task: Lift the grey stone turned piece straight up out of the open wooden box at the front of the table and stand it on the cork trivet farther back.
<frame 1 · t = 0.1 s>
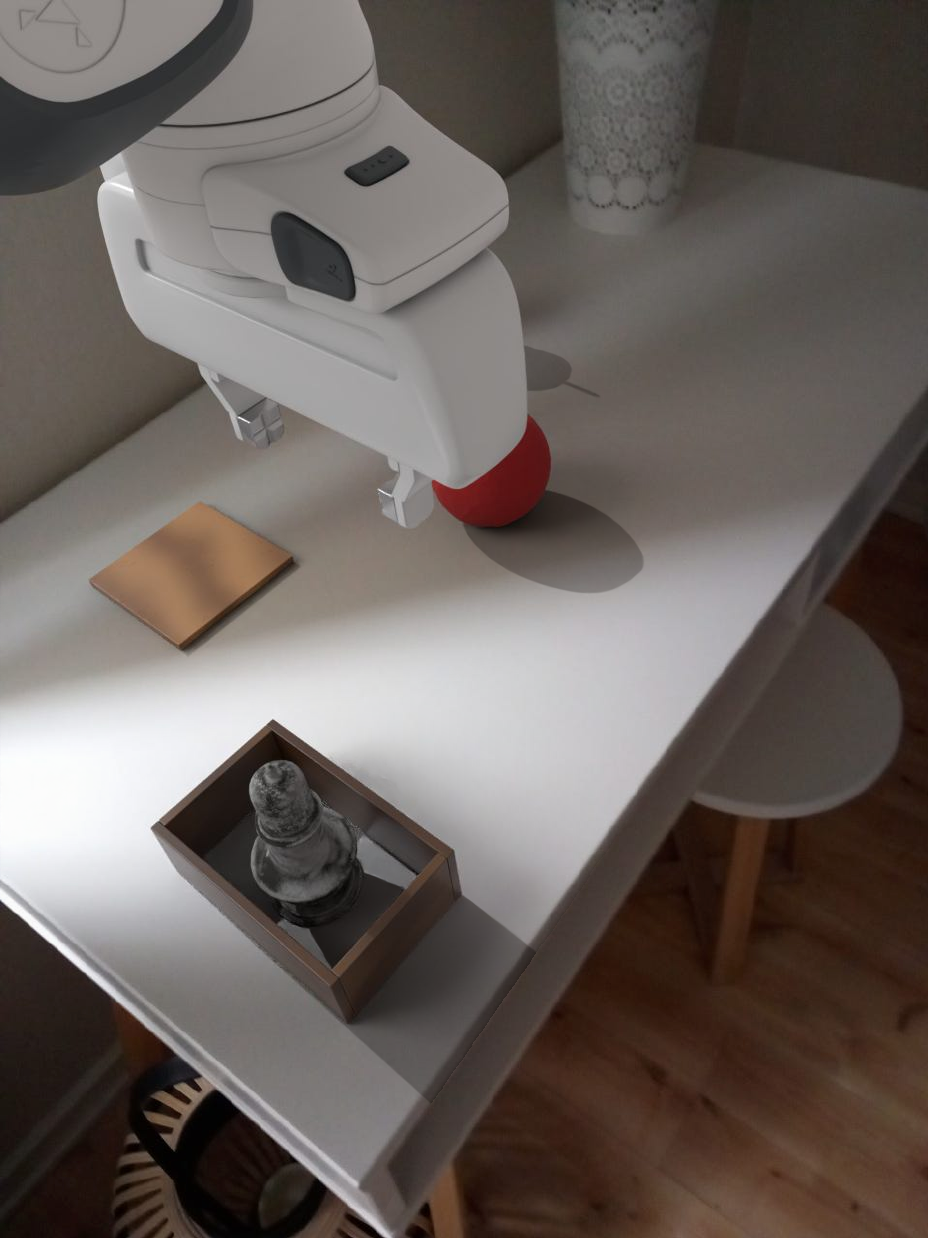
hand: (332, 475, 44), 23 cm above the table, tool pointing down, fingers open, 8 cm apart
apple: (492, 508, 76), on the table
trivet: (192, 573, 74), on the table
open wooden box: (316, 882, 56), on the table
grey stone turned piece: (316, 884, 56), resting in open wooden box
beverage cup: (441, 333, 94), on the table
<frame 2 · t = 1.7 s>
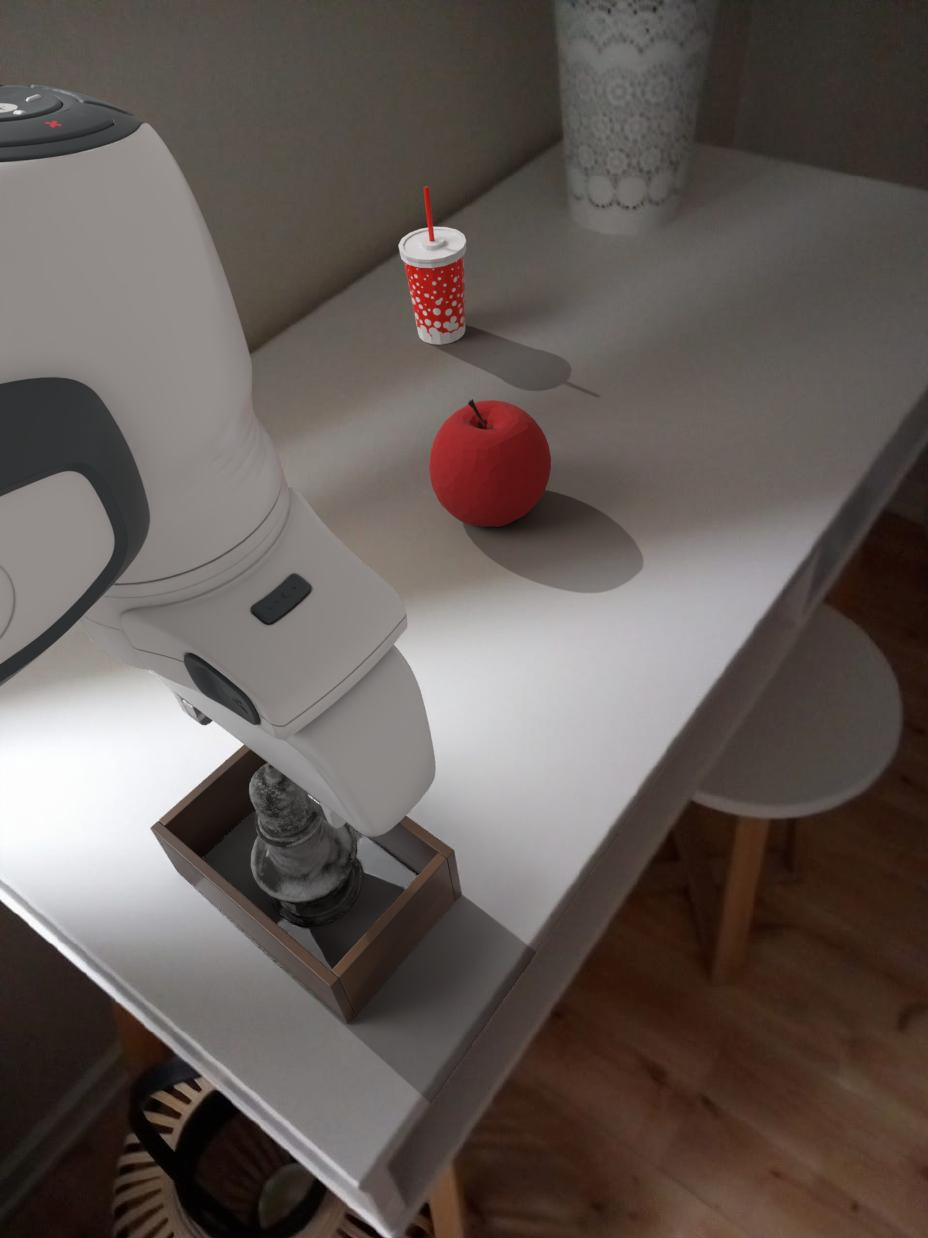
hand: (270, 758, 47), 12 cm above the table, tool pointing down, fingers open, 8 cm apart
nothing on the table moved.
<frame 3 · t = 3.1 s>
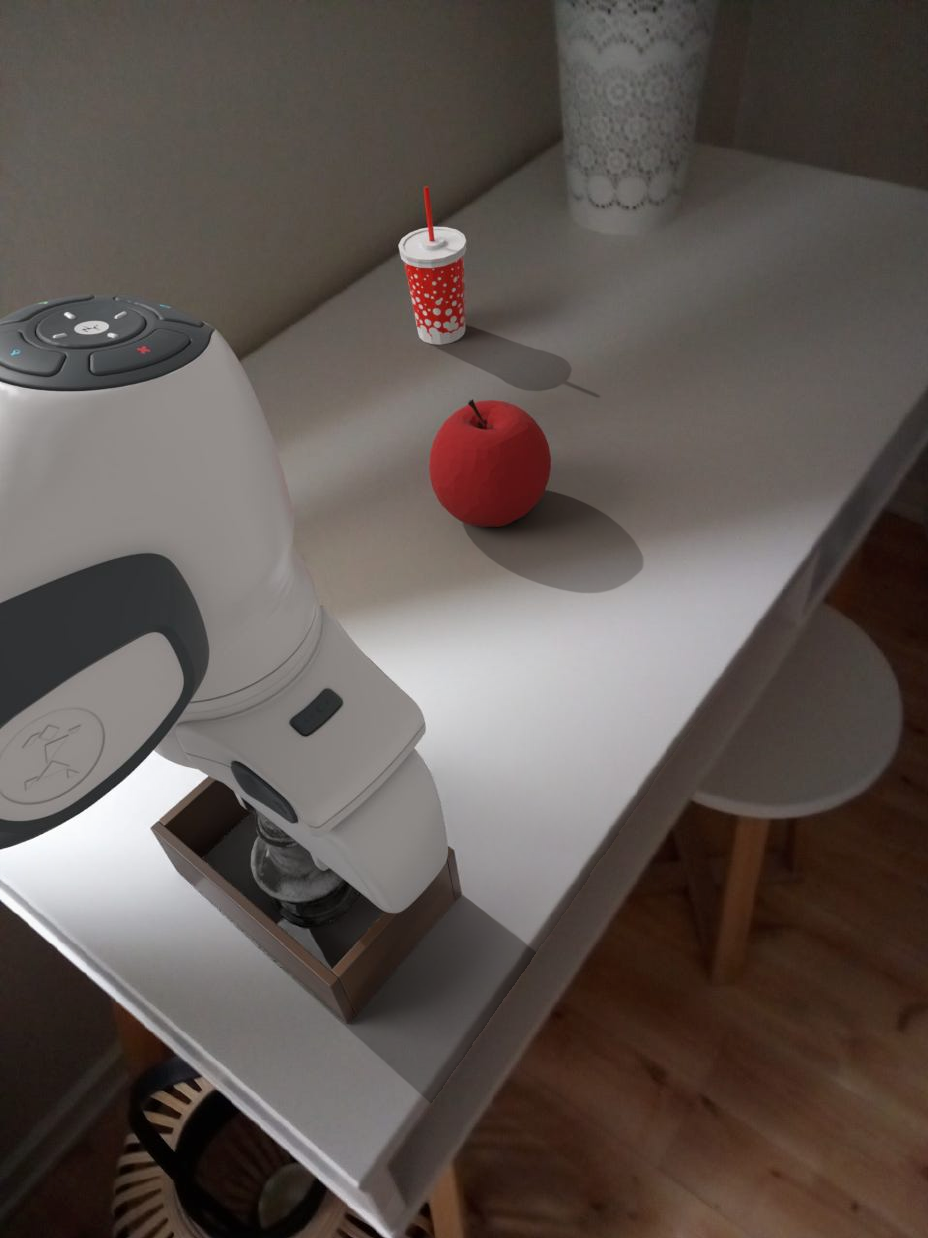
hand: (294, 828, 51), 6 cm above the table, tool pointing down, fingers closed on grey stone turned piece, 3 cm apart
grey stone turned piece: (317, 884, 56), resting in open wooden box, touching gripper
everything else where it was.
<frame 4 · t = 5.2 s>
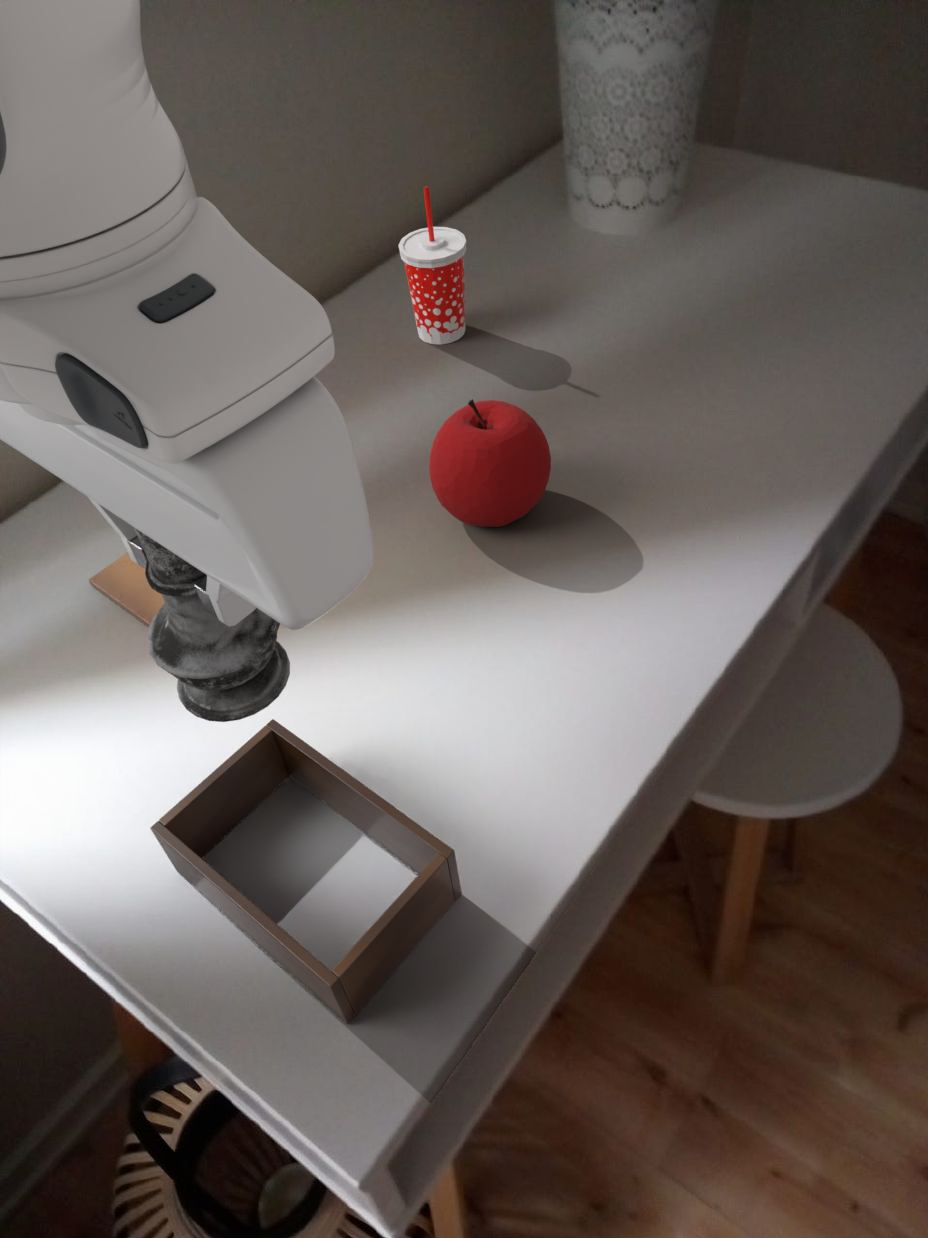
hand: (196, 585, 41), 22 cm above the table, tool pointing down, fingers closed on grey stone turned piece, 3 cm apart
grey stone turned piece: (235, 678, 45), point 16 cm above the table, touching gripper
everything else where it was.
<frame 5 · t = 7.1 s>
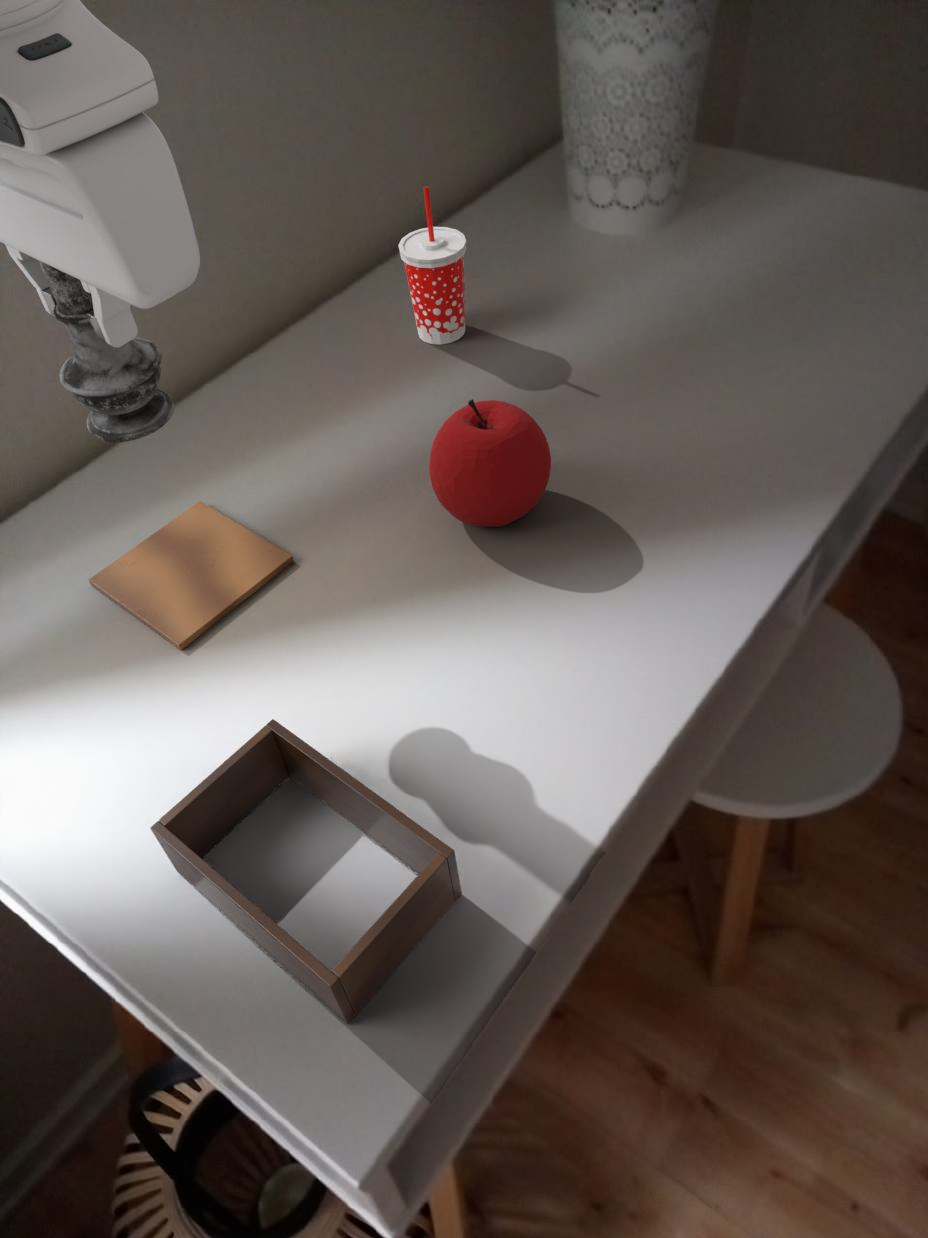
hand: (93, 326, 54), 23 cm above the table, tool pointing down, fingers closed on grey stone turned piece, 3 cm apart
grey stone turned piece: (132, 417, 59), point 17 cm above the table, touching gripper
everything else where it was.
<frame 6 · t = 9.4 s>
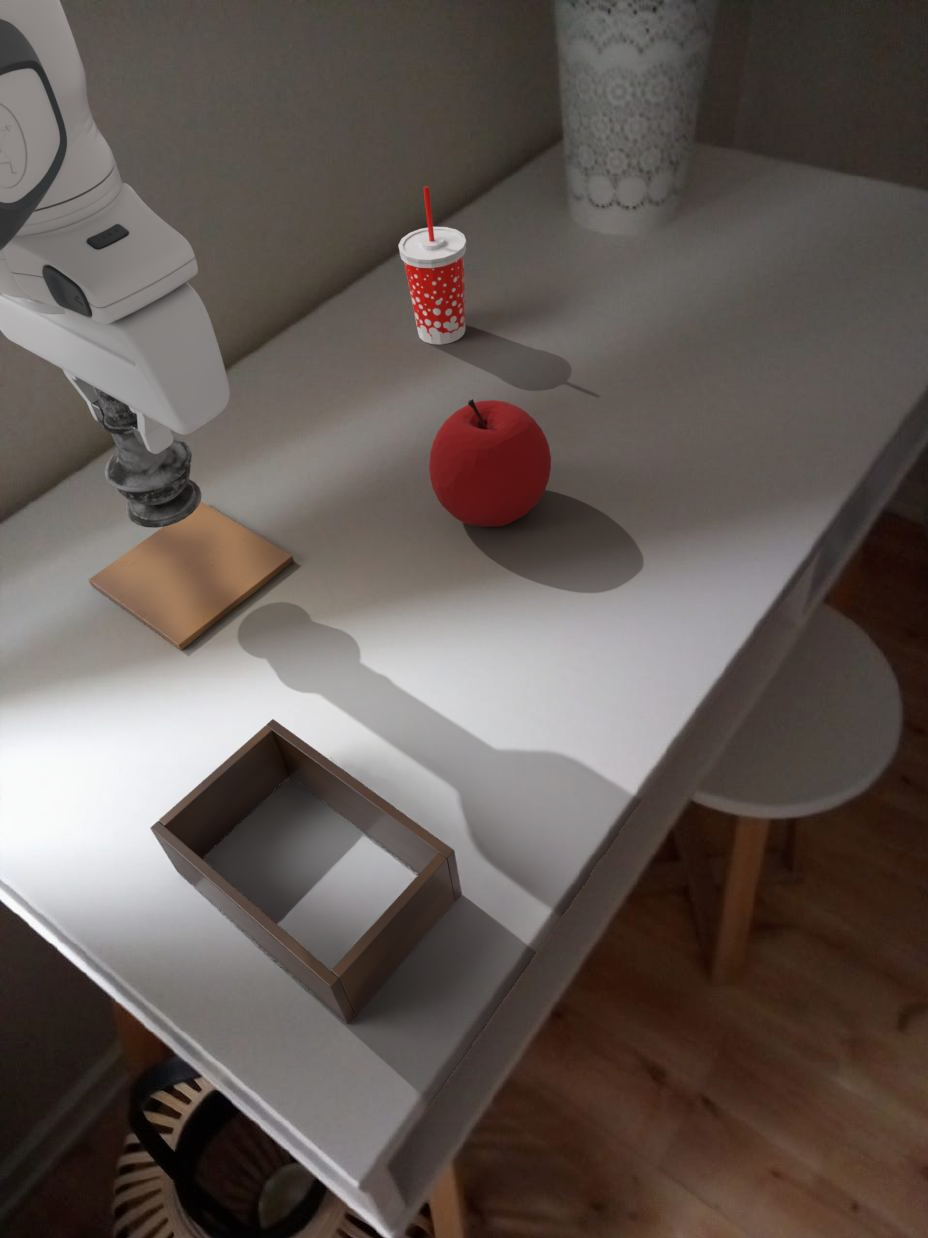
hand: (135, 432, 64), 13 cm above the table, tool pointing down, fingers closed on grey stone turned piece, 3 cm apart
grey stone turned piece: (165, 504, 69), point 7 cm above the table, touching gripper
everything else where it was.
when the fingers open (7 cm above the table, at t = 11.2 s): grey stone turned piece stays where it is, resting on trivet.
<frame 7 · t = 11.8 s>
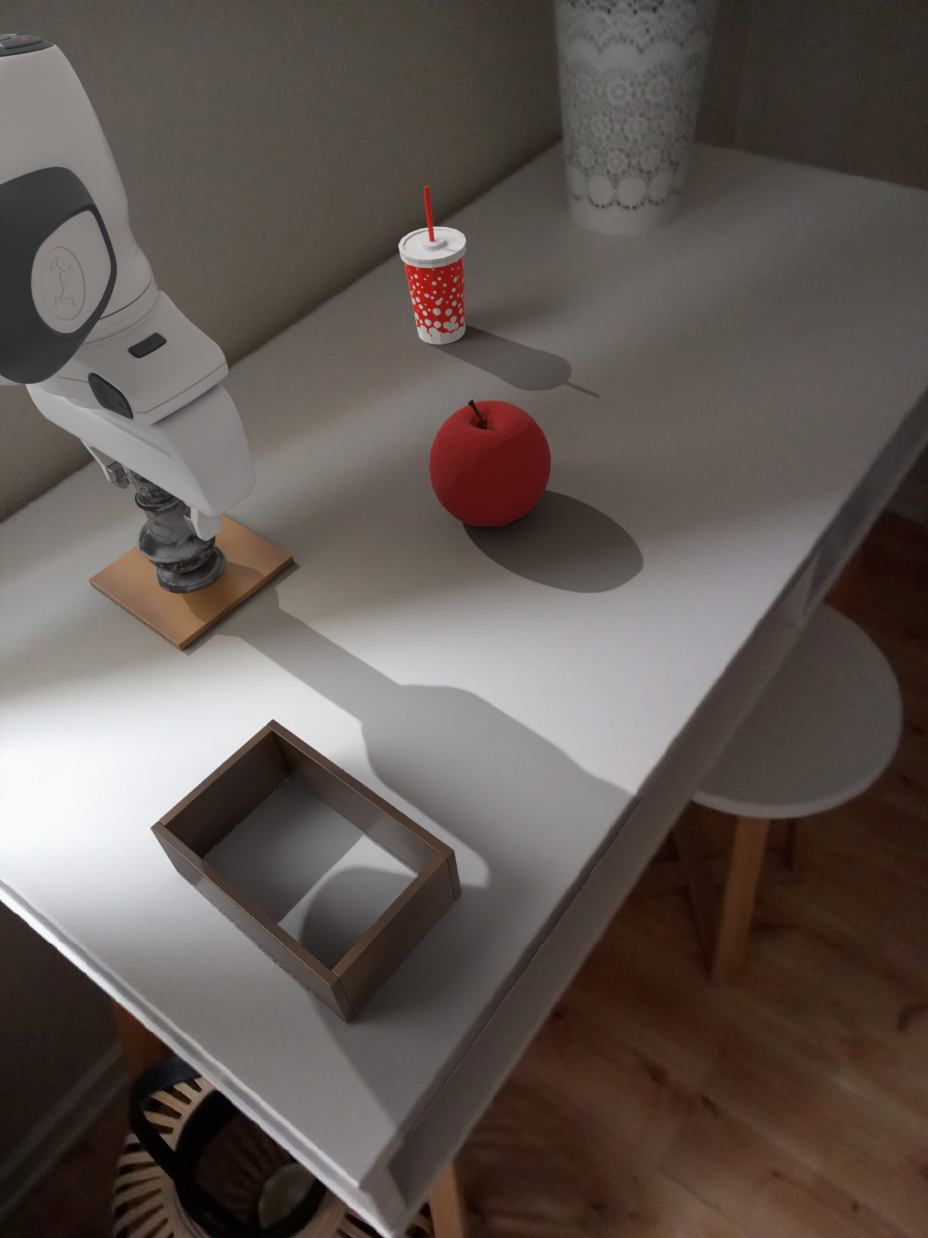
hand: (165, 505, 69), 7 cm above the table, tool pointing down, fingers open, 8 cm apart
grey stone turned piece: (191, 569, 73), resting on trivet
everything else where it was.
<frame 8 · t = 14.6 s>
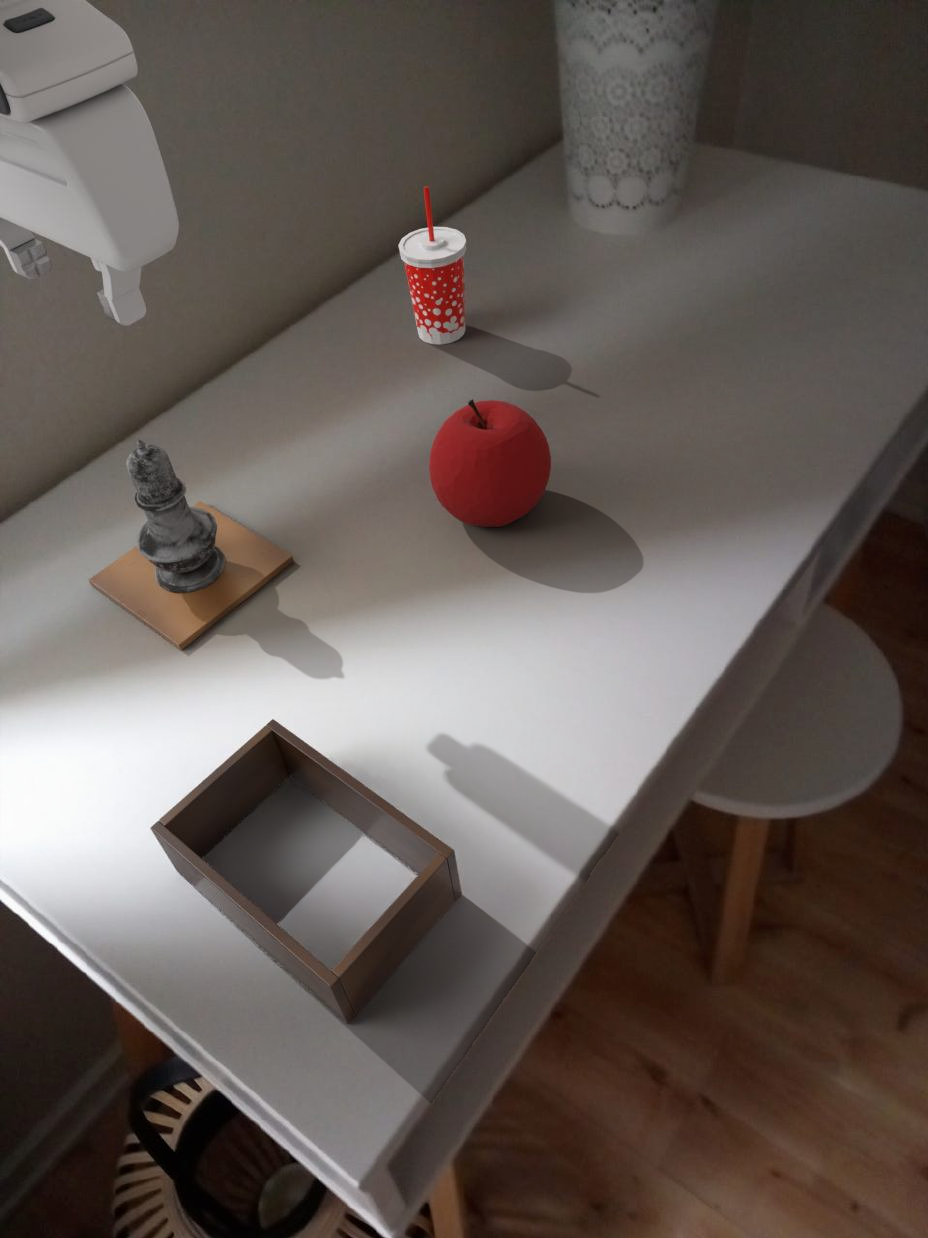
hand: (80, 294, 57), 23 cm above the table, tool pointing down, fingers open, 8 cm apart
nothing on the table moved.
at the end: grey stone turned piece inside the target area on the trivet (0.0 cm from its centre), point 0.4 cm above the trivet's base; grey stone turned piece tilted 0°; grey stone turned piece touching trivet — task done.
